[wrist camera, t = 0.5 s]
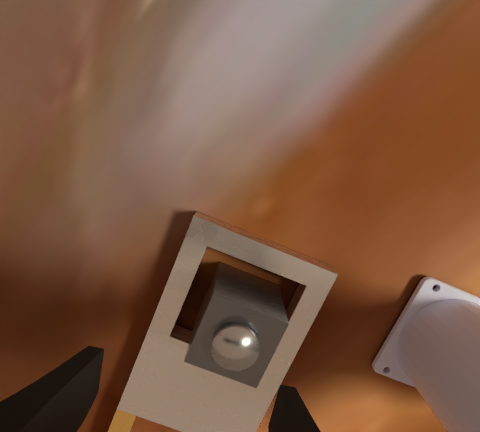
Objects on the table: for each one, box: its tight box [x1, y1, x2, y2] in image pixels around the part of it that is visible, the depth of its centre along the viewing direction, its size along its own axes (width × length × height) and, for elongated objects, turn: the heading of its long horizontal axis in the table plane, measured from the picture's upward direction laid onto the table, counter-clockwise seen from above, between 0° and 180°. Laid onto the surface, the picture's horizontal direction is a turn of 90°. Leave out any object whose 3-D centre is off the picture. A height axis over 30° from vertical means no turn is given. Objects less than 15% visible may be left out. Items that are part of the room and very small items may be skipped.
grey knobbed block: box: [184, 262, 289, 388], centre depth 20 cm, size 4×4×6 cm
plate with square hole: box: [108, 211, 338, 432], centre depth 23 cm, size 10×24×2 cm, turn 157°
